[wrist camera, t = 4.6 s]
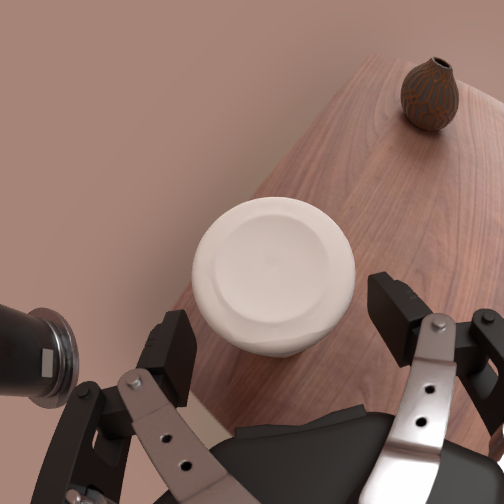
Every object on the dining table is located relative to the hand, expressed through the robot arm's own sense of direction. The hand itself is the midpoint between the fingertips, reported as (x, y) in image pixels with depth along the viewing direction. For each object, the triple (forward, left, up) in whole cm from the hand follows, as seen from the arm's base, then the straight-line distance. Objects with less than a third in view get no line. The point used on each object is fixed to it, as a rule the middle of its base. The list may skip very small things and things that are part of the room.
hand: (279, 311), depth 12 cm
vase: (+9, +27, -9) cm, 30 cm away
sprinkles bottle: (0, 0, -9) cm, 9 cm away
